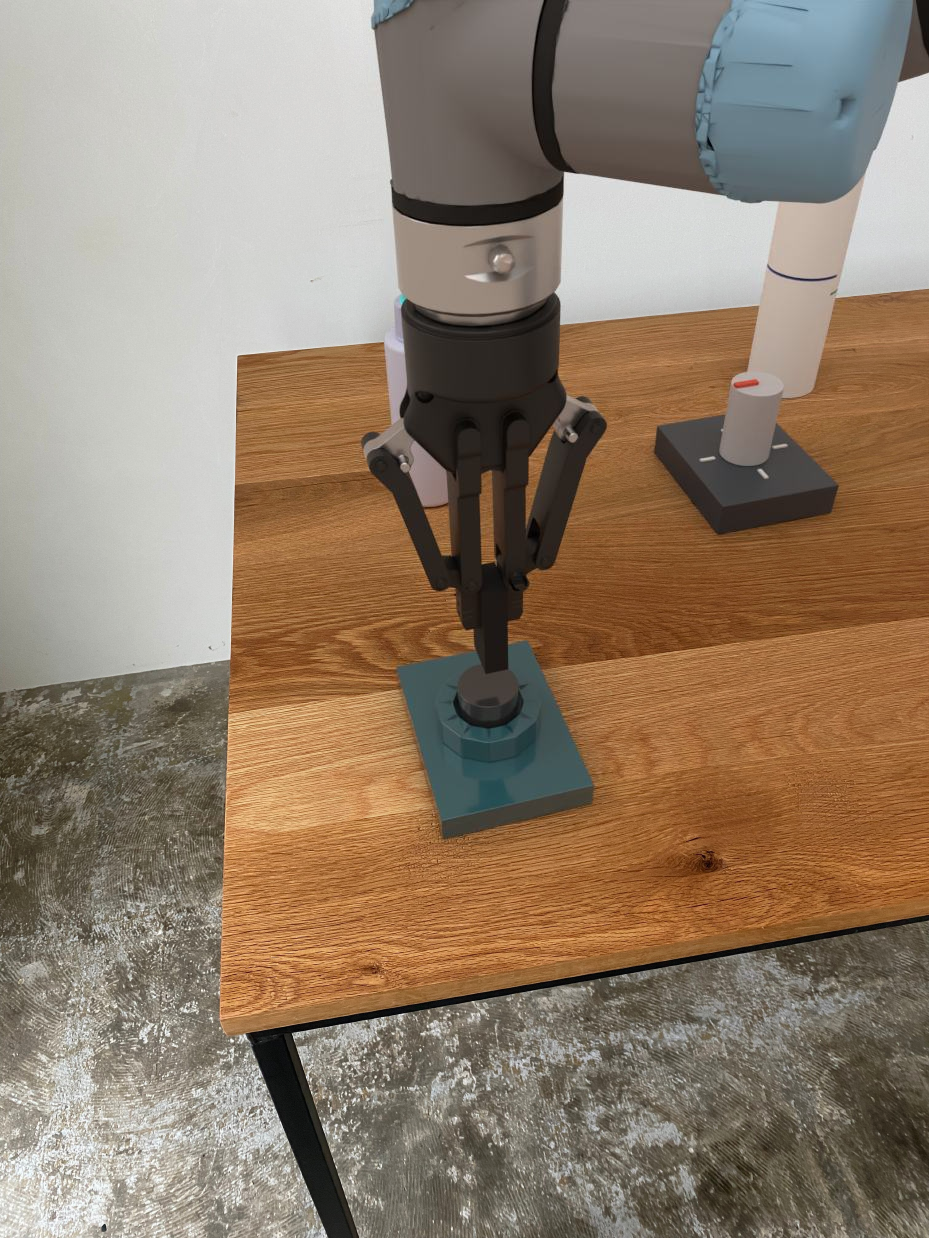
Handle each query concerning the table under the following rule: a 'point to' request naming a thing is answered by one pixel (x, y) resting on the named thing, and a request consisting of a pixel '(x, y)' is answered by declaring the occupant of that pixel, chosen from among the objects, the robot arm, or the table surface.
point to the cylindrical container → (801, 289)
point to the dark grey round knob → (487, 697)
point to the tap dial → (750, 418)
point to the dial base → (743, 477)
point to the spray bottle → (424, 468)
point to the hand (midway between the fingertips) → (491, 657)
